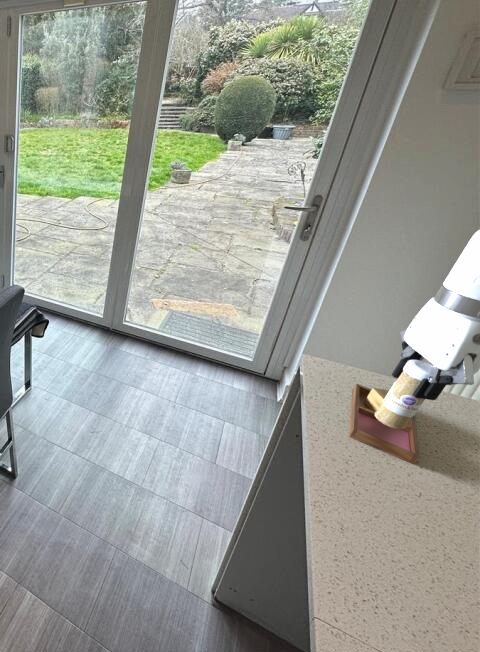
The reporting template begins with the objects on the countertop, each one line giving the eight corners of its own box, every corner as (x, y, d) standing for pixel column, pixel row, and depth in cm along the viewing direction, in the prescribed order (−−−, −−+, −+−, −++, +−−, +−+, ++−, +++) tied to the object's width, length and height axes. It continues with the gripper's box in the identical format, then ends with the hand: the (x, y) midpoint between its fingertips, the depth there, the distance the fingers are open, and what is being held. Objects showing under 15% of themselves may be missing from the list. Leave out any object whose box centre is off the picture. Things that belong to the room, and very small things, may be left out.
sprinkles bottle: (380, 426, 78) (416, 371, 72) (369, 409, 81) (403, 356, 75) (410, 433, 76) (450, 378, 70) (398, 416, 80) (435, 362, 74)
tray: (408, 411, 87) (413, 404, 86) (413, 464, 75) (419, 456, 74) (352, 390, 92) (356, 383, 91) (348, 436, 80) (353, 429, 79)
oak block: (385, 404, 87) (394, 390, 86) (398, 418, 84) (408, 404, 82) (363, 401, 88) (372, 387, 86) (376, 415, 85) (385, 401, 83)
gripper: (551, 335, 59) (477, 426, 67) (453, 281, 73) (402, 361, 82) (488, 328, 60) (423, 418, 68) (404, 277, 75) (359, 356, 83)
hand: (412, 386), depth 75 cm, fingers closed on sprinkles bottle, 4 cm apart
